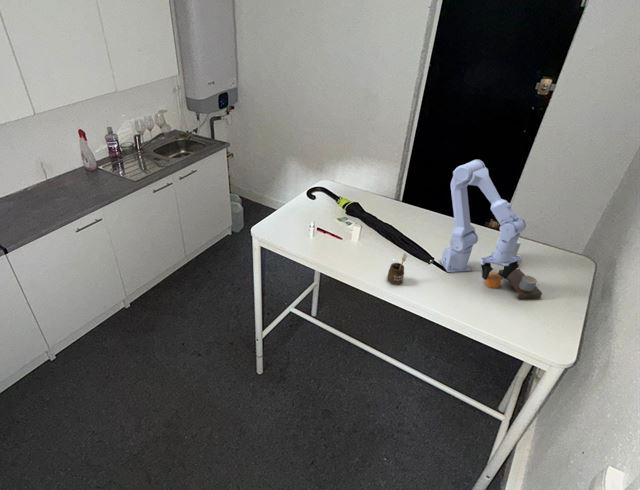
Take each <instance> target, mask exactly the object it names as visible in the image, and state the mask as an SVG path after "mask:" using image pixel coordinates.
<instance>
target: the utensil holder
mask: <svg viewBox="0 0 640 490" xmlns="http://www.w3.org/2000/svg"><path fill="white" fill-rule="evenodd" d="M407 258H408V254H407V253H406V252H404V253H403V256H402V258H401V263H400V262H398V260H397V258H392V260H391V261H390V262H391V264H390V266H389V269H388V272H387V281H388V282H389V283H390V284H393V285H401V284H402V283H403V281H404V277H405V266H404V264H403V263H404V262H406V260H407ZM394 261H396V262H394Z"/></svg>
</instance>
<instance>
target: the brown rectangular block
mask: <svg viewBox="0 0 640 490" xmlns="http://www.w3.org/2000/svg"><path fill="white" fill-rule="evenodd" d="M502 272H503V269H499V270H498V272H497V274H498V275H500V276H501V277H502ZM523 276H526V274H525V273H524V272H523V271H522V270H521V269H520V268H517V269H515V270H514V271H513V272H511V273H510V275H509V276H508V277H507V278H506V279H505V280H506V281H507V282H508V283H509V285H510V286H511V287H512V288H513V289H514V290H515V291H516V292H517V293H518V294H517V296H516V299H518V300H533V299H541V297H542V295H543V292H542V291H541V289H540V288H539V287H537V286H536V285H535V287H534V290H533V291H530V292H528V291H524V290H522V289H520V288H519V284H520V281H521V279H522V277H523Z"/></svg>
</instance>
